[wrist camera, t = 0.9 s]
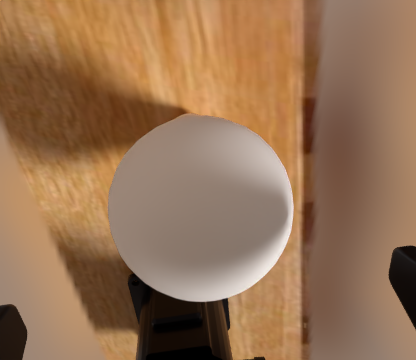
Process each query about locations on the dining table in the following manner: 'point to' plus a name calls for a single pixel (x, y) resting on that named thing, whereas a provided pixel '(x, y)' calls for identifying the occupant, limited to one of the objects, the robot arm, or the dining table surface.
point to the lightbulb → (200, 208)
